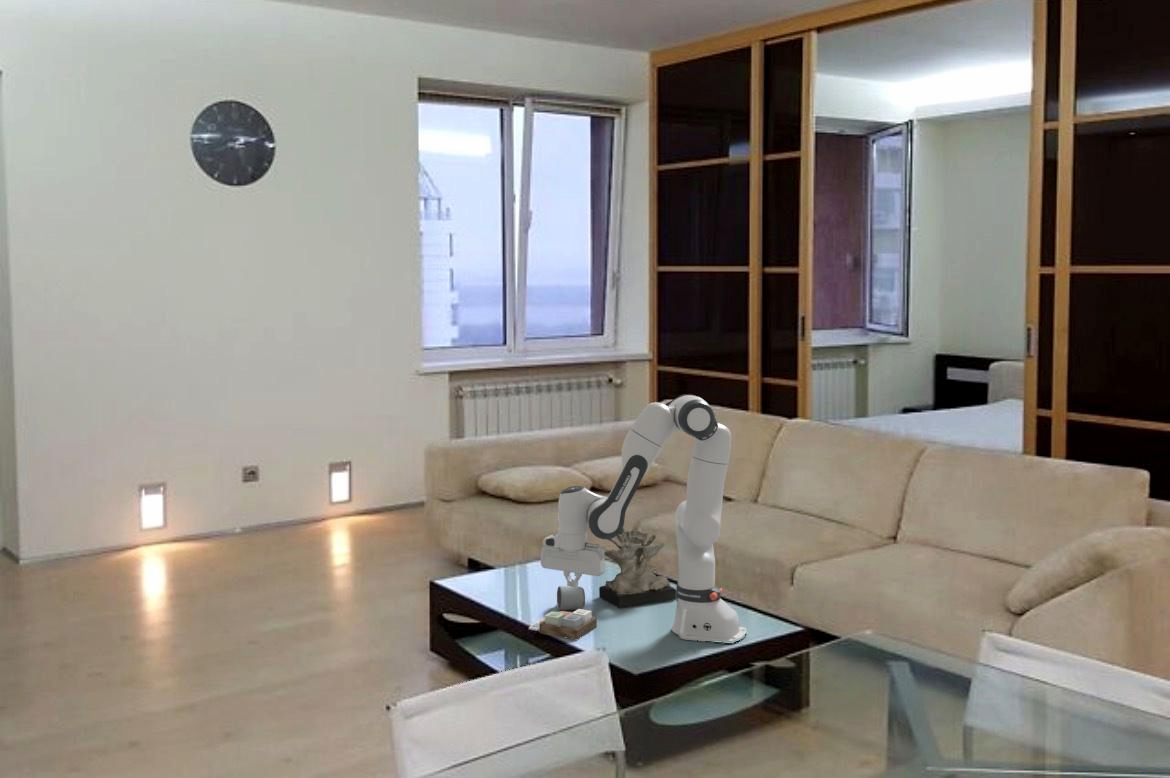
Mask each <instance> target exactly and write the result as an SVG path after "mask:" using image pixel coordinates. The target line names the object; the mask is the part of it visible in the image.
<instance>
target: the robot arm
mask: <svg viewBox="0 0 1170 778" xmlns="http://www.w3.org/2000/svg"><path fill="white" fill-rule="evenodd" d="M679 430H680V431H681V432H684V433H686V434H688V435H689V436H691V437H693V439H694V440H693V441H694V442H693V445H694V446H693V449H692V454H691V460H690V464H689V468H688V469H689V470H688V474H687V478H686V499H685V500H684V501H681V503H680V504H678V506H677V508H676V510H675V529H676V530H675V531H676V532H675V533H676V534H675V535H676V544H677V546H676V547H677V548H676V549H677V558H678V560H677V561H678V565H677V567H678V568H677V570H678V571H677V583H676V600H675V601H676V608H675V609H676V610H675V614H674V618H673V619H674V620H673V624H672V626H671V630H672V632H673V633H674V634H676V635H677V636H679V638H680V639H682V640H685V641H686V640H687V641H696V642H705V641H721V642H732V641H736V640H738V639H740V638H741V637H742V636H744V635H745V634H746V632H747V633H748V631H747V627H744V626H740V618H739V615H738V612H737V611H736V610H735V609H733V608H732V607H731V606H730V605H728V604H727V603H726V602H725V601H724V600H723V599H722V598H721V593H722V592H723V587H721V588H718V587H717V586H716V584H715V583H716V582H715V581H716V558H715V550H714V544H715V543H716V542H717V541H718V540H719V538H720V535H721V531H722V530H721V523H722V512H723V502H724V501H723V500H724V498H723V496H724V487H725V483H726V478H727V473H728V468H729V462H730V457H731V448H732V433H731V431H730V428H728V427H727V426H726V425H723V424H722V423H719V422H718V421H717V418H716V414H715V412H714V410H713V407H712V406H711V405H710V404H709V403H708V402H707V401H706V400H704V399H703V398H702V397H700V396H698V395H697V396H696V395H694V394H692V393H691V394H690V393H685V394H680V395H678V396H677V397H675V398H673V399H671V400H670V401H669V402H667V403H665V404H664V403H662V402H658V401H655V402H650V403H649V404H647V405H646V406H645V408H644V409H642V411H641V412H640V413H639V415H638V416H637V417H636V419H635V420H634V422H633V423H632V425H631V427H630V428H629V430H628V432H627V434H626V436H625V438H624V440H623V442H622V443H623V444H622V446H621V466H620V467H621V468H620V472H619V475H618V477H617V479H616V481H615V482H614V485H613V487H612V488H611V491H610V492H609V494H608V496H604V495H601V494H597V493H594V492H593V491H591V490H589V489H587V488H586V487H585V486H583V485H572V486H568V487H566V488H564V489H563V490H561V492H560V493H559V497H558V504H557V505H558V506H557V519H558V522H559V524H558V528H557V533H554V534H551V535H548V536H546V537H544V538H543V539H542V545H543V546H542V548H541V550H540V551H541V552H540V566H541V567H542V568H543V569H547V570H555V571H561V572H563V576H564V578H565V580H566V586H572V587H577V586H578V587H579V581H580V579H581V578H582V575H586V576H587V575H588V576H594V577H600V576H602V575H604V573H605V572H606V564H605V563H606V561H605V555H604V549H603V548H602V547H601V546H602V545H600V544H598V543H591V542H588V541H589V540H588V538H589V537H588V535H589V533H588V532H589V531H588V529H589V530H590V532H591V533H592V534H593V535H594V536H595V537H596V538H598V539H601V540H607V539H612V538H614V537H616V536H617V535H618V534H619V533H620V532H621V531H622V529H623V528H624V525H625V518H626V512H627V509H628V507H629V505H630V503H631V501H632V499H633V497H634V495H635V493H636V491H637V489H638V488H639V486H640V484H641V482H642V480H643V478H644V477H645V475H646V474H647V472H648V471H649V469H650V467H651V466H652V465H653V463H654V462H655V460H656V459H657V457H658V456H659V454H660V453H661V451H662V449H663V448H664V446H665V444H666V442H667V440H668V439H669V438H670V436H671V435H672V434H673V433H675V432H676V431H679ZM571 573H573V574H574V577H575V578H574V579H573V578H572V576H571ZM697 640H698V641H697Z"/></svg>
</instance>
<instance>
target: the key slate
mask: <svg viewBox="0 0 1170 778" xmlns="http://www.w3.org/2000/svg"><path fill="white" fill-rule="evenodd" d="M580 626H582V616H576V615H570V614H569V615H568V616H566V617H564V618H563V627H568V628H573V629H577V628H579V627H580Z"/></svg>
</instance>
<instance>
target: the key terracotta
mask: <svg viewBox="0 0 1170 778" xmlns="http://www.w3.org/2000/svg"><path fill="white" fill-rule="evenodd" d="M558 612H559V613H564V614H565V617H566V616H568V615H569V614H570V615H572V613H573V612H570V611H566V610H559V611H558Z"/></svg>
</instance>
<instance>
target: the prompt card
mask: <svg viewBox="0 0 1170 778" xmlns="http://www.w3.org/2000/svg"><path fill="white" fill-rule="evenodd" d="M543 621H545V617H544V618H542V619H541V620H539V621H537V622H535V623H534V624H532V625H531V626H529V627H528V630H529V631H530V630H531V631H535V632H536V631H539V623H541V622H543Z"/></svg>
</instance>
